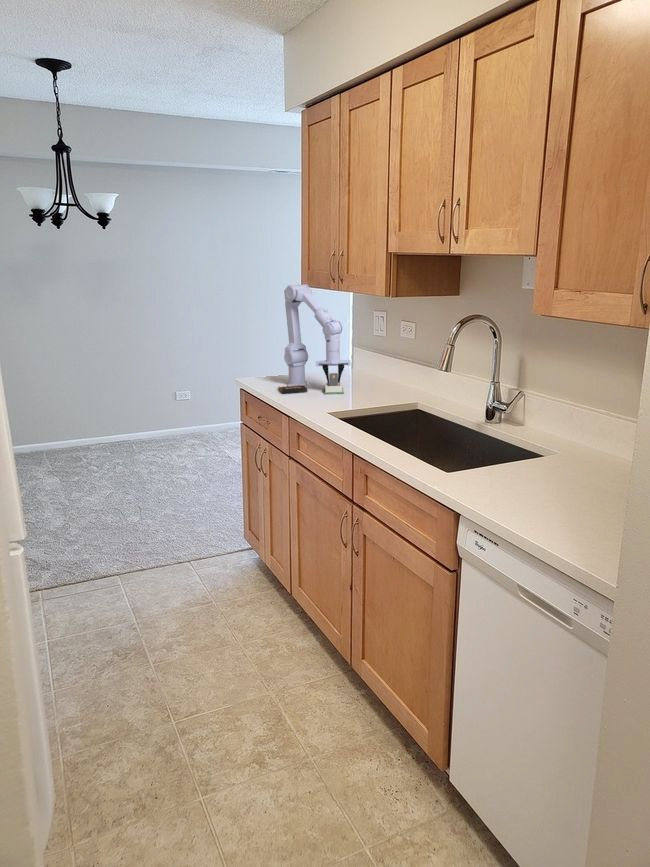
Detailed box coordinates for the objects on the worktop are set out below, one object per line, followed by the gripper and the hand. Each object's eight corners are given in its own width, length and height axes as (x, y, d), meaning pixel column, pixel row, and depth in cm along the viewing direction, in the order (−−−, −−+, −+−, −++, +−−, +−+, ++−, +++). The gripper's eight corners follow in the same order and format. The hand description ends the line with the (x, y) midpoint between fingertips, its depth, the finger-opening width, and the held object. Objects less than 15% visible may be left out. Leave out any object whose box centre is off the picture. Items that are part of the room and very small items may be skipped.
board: (324, 389, 285) (324, 382, 284) (342, 388, 285) (342, 382, 284) (324, 394, 275) (324, 387, 274) (343, 393, 275) (343, 386, 274)
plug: (329, 389, 281) (329, 373, 279) (337, 389, 281) (337, 373, 279) (329, 391, 278) (329, 375, 276) (338, 391, 278) (337, 374, 276)
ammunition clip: (307, 391, 280) (300, 387, 292) (307, 387, 280) (300, 383, 291) (282, 393, 277) (276, 389, 289) (282, 389, 277) (276, 385, 288)
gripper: (315, 352, 271) (316, 384, 275) (350, 351, 271) (351, 383, 275) (315, 349, 278) (316, 381, 282) (349, 349, 278) (350, 380, 282)
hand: (333, 382), depth 279 cm, fingers open, 4 cm apart
